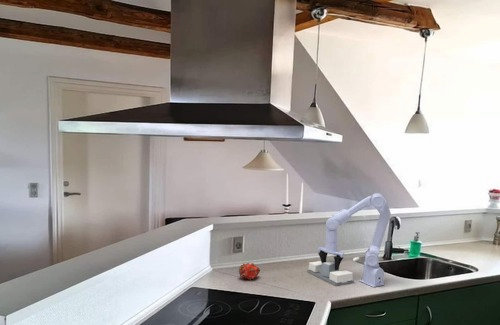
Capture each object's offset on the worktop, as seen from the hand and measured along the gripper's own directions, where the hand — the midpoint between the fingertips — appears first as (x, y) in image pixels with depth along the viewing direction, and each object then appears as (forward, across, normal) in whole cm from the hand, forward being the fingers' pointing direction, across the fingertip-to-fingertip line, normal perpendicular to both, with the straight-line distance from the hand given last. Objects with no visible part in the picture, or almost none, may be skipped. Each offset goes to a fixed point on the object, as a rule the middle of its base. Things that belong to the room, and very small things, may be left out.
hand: (330, 268), depth 188 cm
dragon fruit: (+5, +24, +34) cm, 42 cm away
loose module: (+3, 0, 0) cm, 3 cm away
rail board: (+5, 0, 0) cm, 5 cm away
